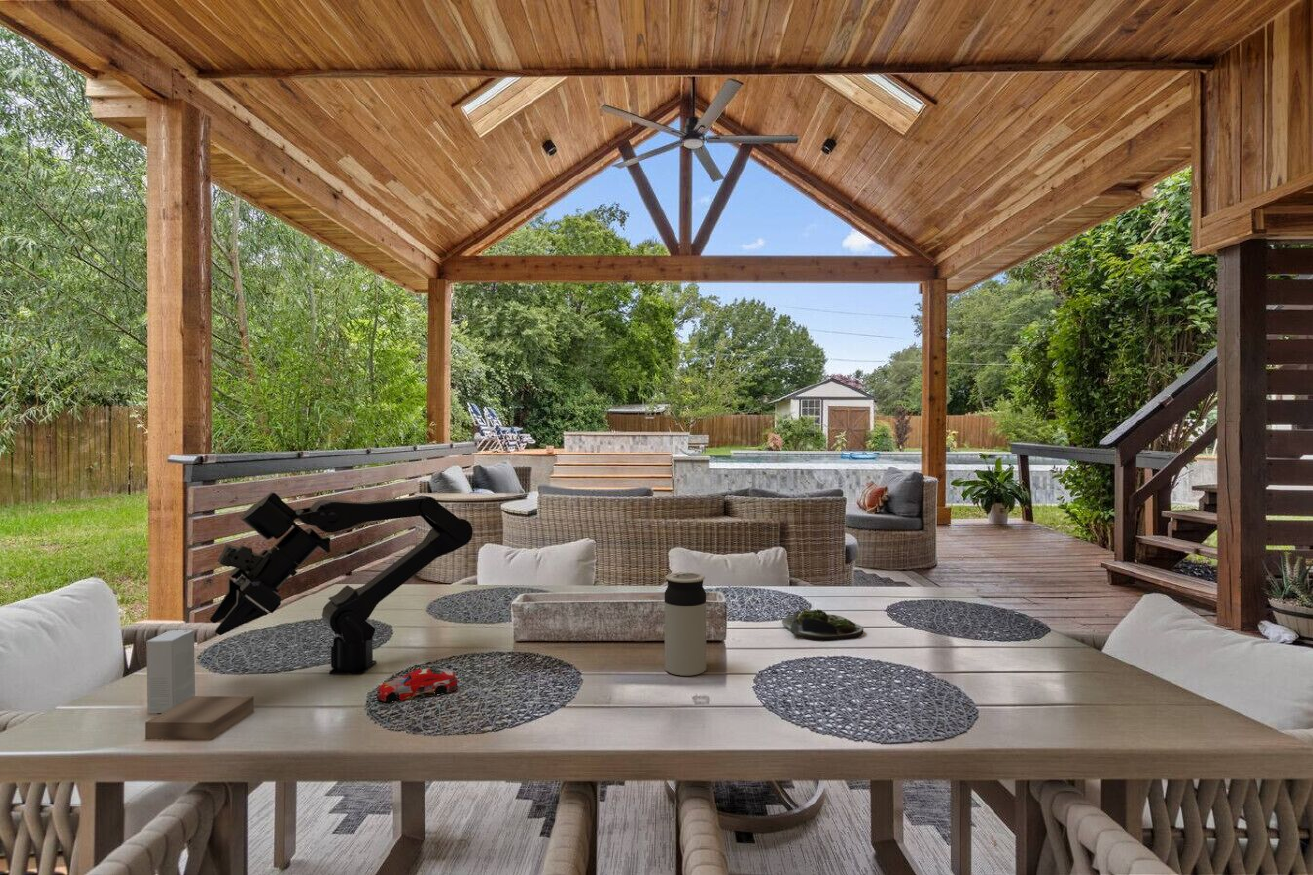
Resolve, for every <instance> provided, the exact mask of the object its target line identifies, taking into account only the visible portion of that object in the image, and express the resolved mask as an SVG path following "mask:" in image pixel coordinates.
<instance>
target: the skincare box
mask: <svg viewBox="0 0 1313 875" xmlns="http://www.w3.org/2000/svg"><path fill="white" fill-rule="evenodd" d="M145 643H146V646H145V647H146V697H147V699H146V701H147V702H146V703H147V714H148V715H155V714H157V713H163V712H165V711H167V710H169V709H171V708H172V707H174V706H176V705H178V704H180V703H182V702H184V701H185V700H187V699H189V698H191V697H193V696H196V676H195V675H196V672H195V671H196V670H195V667H196V666H195V630H193V629H181V630H179V629H175V630H173V629H171V630H167V631H166V632H164V633H161V634H159V635H156V636H154V637H151V638H150V639H148V640H146V642H145ZM157 715H158V714H157Z"/></svg>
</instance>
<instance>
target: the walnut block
mask: <svg viewBox="0 0 1313 875" xmlns="http://www.w3.org/2000/svg"><path fill="white" fill-rule="evenodd" d="M254 702H255V698H254V696H245V695H244V696H243V695H242V696H241V695H240V696H237V695H235V696H229V695H228V696H222V695H221V696H213V695H212V696H211V695H210V696H206V695H205V696H203V695H202V696H200V695H199V696H198V695H197V696H196V695H195V696H193V697H191V698H189V699H187V700H185V701H184V702H182V703H180V704H178V705H176V706H174V707H172V708H171V709H169V710H167V711H165V712H163V713H161V714H157V715H156V716H154V717H152V718H150V719H149V720H147V721H145V723H144V728H145V729H144V731H145V732H144V734H145V735H144V739H153V740H152V741H155V740H154V739H158V740H157V741H161V739H163V740H162V741H164V740H165V741H212V740H214V739H216V738H217V737H219V736H220V735H222V734H223V733H225V732H226V731H228V730H229V729H231V728H232V727H234V726H235V725H237V724H238V723H240V722H242V720H244V719H246V718H247V717H249V716H250V715H252V714H253V713H254V712H255V711H254V709H255V708H254V706H255V704H254Z"/></svg>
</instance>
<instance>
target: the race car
mask: <svg viewBox="0 0 1313 875" xmlns="http://www.w3.org/2000/svg"><path fill="white" fill-rule="evenodd" d="M458 687H459V686H458V678H457V677H456V674H455V671H453V670H450V669H442V668H437V667H436V668H433V667H432V668H431V667H430V668H429V667H428V668H420V669H415V670H413V671H411V672H409V673H406V675H404V676H402V677H399V678H396V679H392V680H389V681H386V682H384V683H383V684H381V685H380V686H379V687H378V688H377V692H376V697H377V699H378V700H379V701H382V702H387V703H388V702H392V701H397V702H399V700H400V701H403V700H404V701H406V700H411V699H412V700H413V699H417V698H418V699H419V698H424V697H430V696H429V695H432V696H437V694H441V693H445V694H448V693H451V692H453V691H455V690H456V689H457V688H458ZM434 692H435V693H434ZM392 703H393V702H392Z"/></svg>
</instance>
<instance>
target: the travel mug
mask: <svg viewBox="0 0 1313 875" xmlns="http://www.w3.org/2000/svg"><path fill="white" fill-rule="evenodd" d="M705 578H706V577H705V575H704V574H702V573H698V572H692V571H691V572H689V571H679V572H671V573H668V574H667V575H665V579H666V581H667V587H666V589H665V591H664V670H665V671H667V672H668V673H670V674H671V675H675V676H679V675H680V676H679V677H691V676H692V677H693V675H694V676H697V675H700V674H702V673H704V672H706V670H707V592H706V590H705V588H704V586H703V585H704V580H705Z"/></svg>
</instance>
